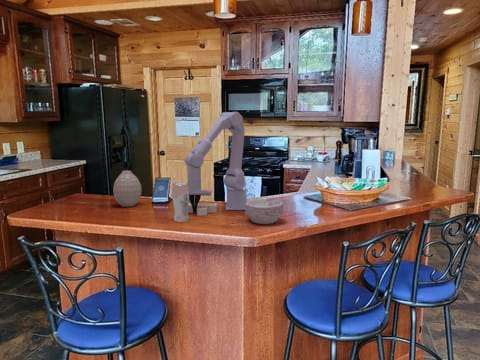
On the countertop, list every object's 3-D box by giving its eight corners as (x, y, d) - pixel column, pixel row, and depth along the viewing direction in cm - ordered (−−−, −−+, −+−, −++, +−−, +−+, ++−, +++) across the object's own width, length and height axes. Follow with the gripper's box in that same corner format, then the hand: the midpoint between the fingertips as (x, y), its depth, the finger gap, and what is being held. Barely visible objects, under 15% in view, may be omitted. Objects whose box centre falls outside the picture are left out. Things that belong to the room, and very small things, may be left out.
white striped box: (217, 209, 169) (217, 202, 169) (216, 212, 163) (216, 205, 163) (188, 209, 169) (188, 202, 169) (186, 212, 163) (186, 205, 163)
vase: (143, 207, 174) (142, 172, 171) (114, 209, 169) (113, 173, 166) (140, 201, 185) (138, 168, 183) (113, 203, 181) (111, 169, 178)
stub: (207, 212, 163) (207, 205, 162) (206, 215, 158) (206, 208, 158) (198, 212, 163) (198, 205, 162) (197, 215, 158) (197, 208, 157)
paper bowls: (237, 221, 150) (237, 202, 148) (262, 214, 160) (262, 196, 159) (265, 229, 139) (266, 208, 138) (290, 221, 149) (291, 202, 148)
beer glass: (182, 216, 156) (181, 181, 154) (193, 219, 152) (192, 183, 149) (169, 220, 151) (168, 184, 148) (180, 223, 146) (179, 185, 144)
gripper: (211, 179, 163) (211, 209, 165) (178, 179, 162) (178, 210, 164) (211, 182, 156) (211, 213, 158) (176, 182, 155) (177, 214, 157)
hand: (194, 212), depth 160 cm, fingers closed
